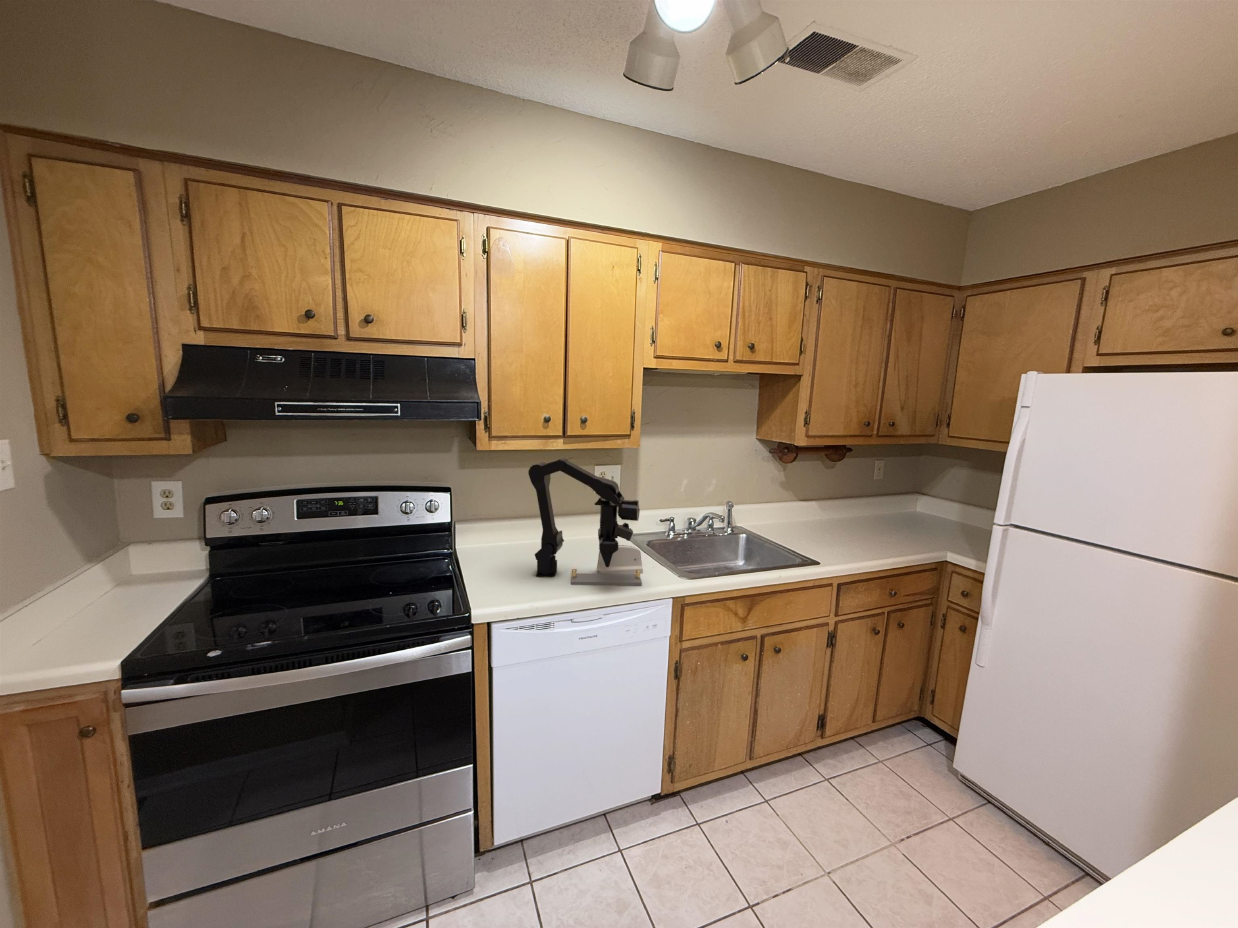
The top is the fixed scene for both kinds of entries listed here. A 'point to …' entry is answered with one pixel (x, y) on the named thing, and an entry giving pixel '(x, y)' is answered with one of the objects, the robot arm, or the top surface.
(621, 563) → the curved beige panel
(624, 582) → the plate
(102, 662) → the top surface
